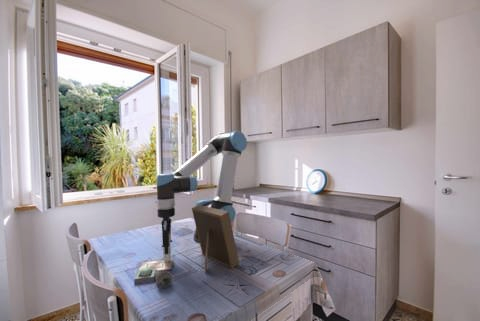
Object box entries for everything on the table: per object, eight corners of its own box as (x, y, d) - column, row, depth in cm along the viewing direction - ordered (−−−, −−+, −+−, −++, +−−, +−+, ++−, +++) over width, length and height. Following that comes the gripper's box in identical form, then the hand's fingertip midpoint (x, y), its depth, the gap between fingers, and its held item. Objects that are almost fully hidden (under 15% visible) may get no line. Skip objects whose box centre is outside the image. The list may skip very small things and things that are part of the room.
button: (152, 272, 92) (151, 266, 92) (150, 277, 88) (150, 271, 88) (141, 273, 92) (141, 267, 92) (139, 279, 88) (139, 272, 88)
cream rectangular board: (173, 260, 106) (173, 258, 106) (171, 270, 96) (171, 268, 96) (141, 263, 103) (141, 262, 103) (136, 274, 93) (136, 272, 93)
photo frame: (209, 251, 115) (208, 203, 115) (239, 265, 99) (238, 209, 99) (183, 261, 104) (182, 208, 104) (212, 278, 89) (211, 215, 89)
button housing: (156, 272, 94) (156, 268, 94) (153, 281, 87) (153, 276, 87) (138, 275, 93) (138, 270, 93) (134, 284, 86) (134, 279, 86)
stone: (153, 280, 90) (143, 275, 84) (162, 267, 93) (153, 261, 87) (171, 293, 85) (161, 289, 80) (180, 279, 88) (171, 274, 82)
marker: (171, 258, 104) (170, 233, 104) (170, 261, 102) (169, 235, 101) (164, 259, 104) (163, 233, 104) (163, 262, 101) (162, 235, 101)
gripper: (160, 204, 109) (161, 252, 110) (154, 212, 94) (155, 267, 94) (175, 203, 111) (177, 251, 111) (173, 210, 95) (174, 265, 96)
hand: (167, 258), depth 103 cm, fingers closed on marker, 3 cm apart
